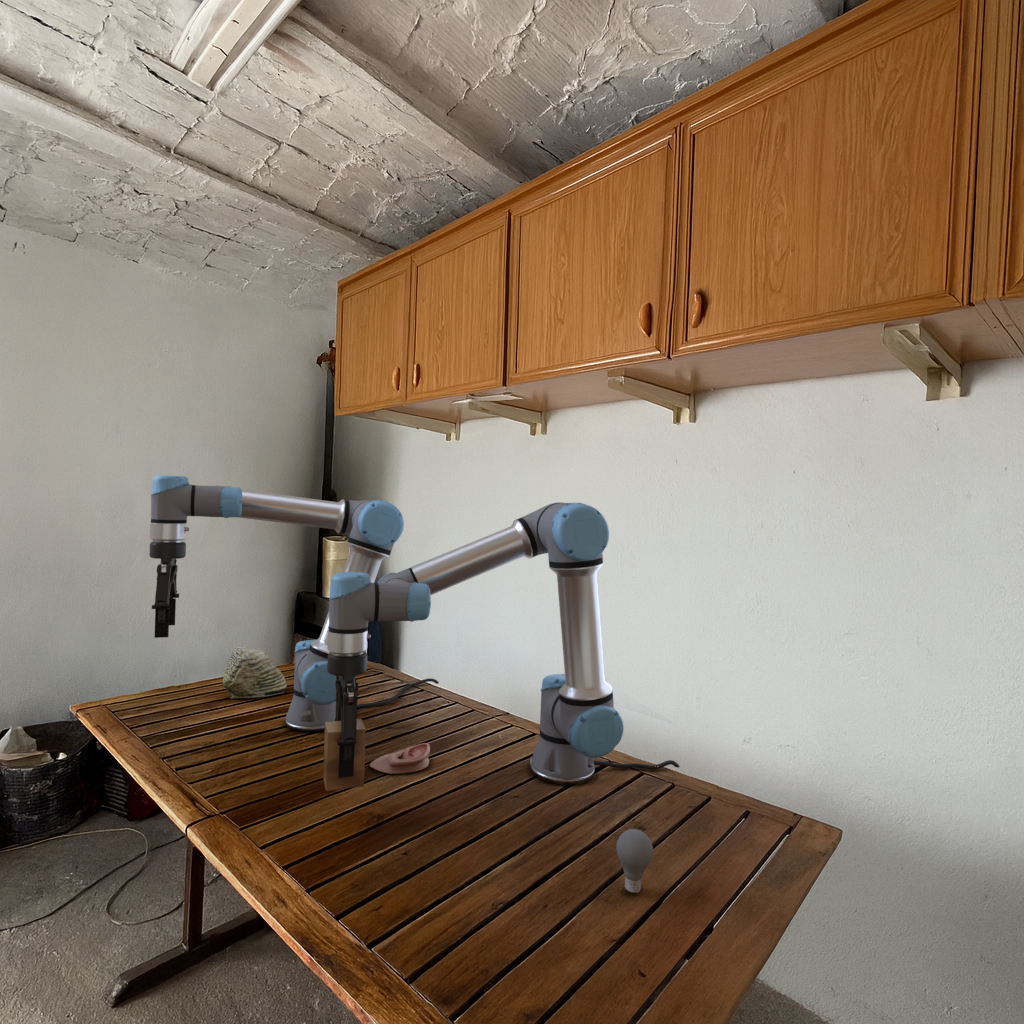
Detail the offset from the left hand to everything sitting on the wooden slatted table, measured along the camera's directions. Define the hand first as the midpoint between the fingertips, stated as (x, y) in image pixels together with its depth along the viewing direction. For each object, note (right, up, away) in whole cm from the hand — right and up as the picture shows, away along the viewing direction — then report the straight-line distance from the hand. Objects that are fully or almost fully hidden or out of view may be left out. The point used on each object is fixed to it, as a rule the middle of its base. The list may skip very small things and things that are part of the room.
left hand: (165, 631), depth 149 cm
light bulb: (+102, -35, -43) cm, 116 cm away
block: (+49, -25, -25) cm, 60 cm away
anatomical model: (+55, -32, +2) cm, 64 cm away
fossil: (+1, -29, +49) cm, 57 cm away
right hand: (+49, -22, -25) cm, 59 cm away
